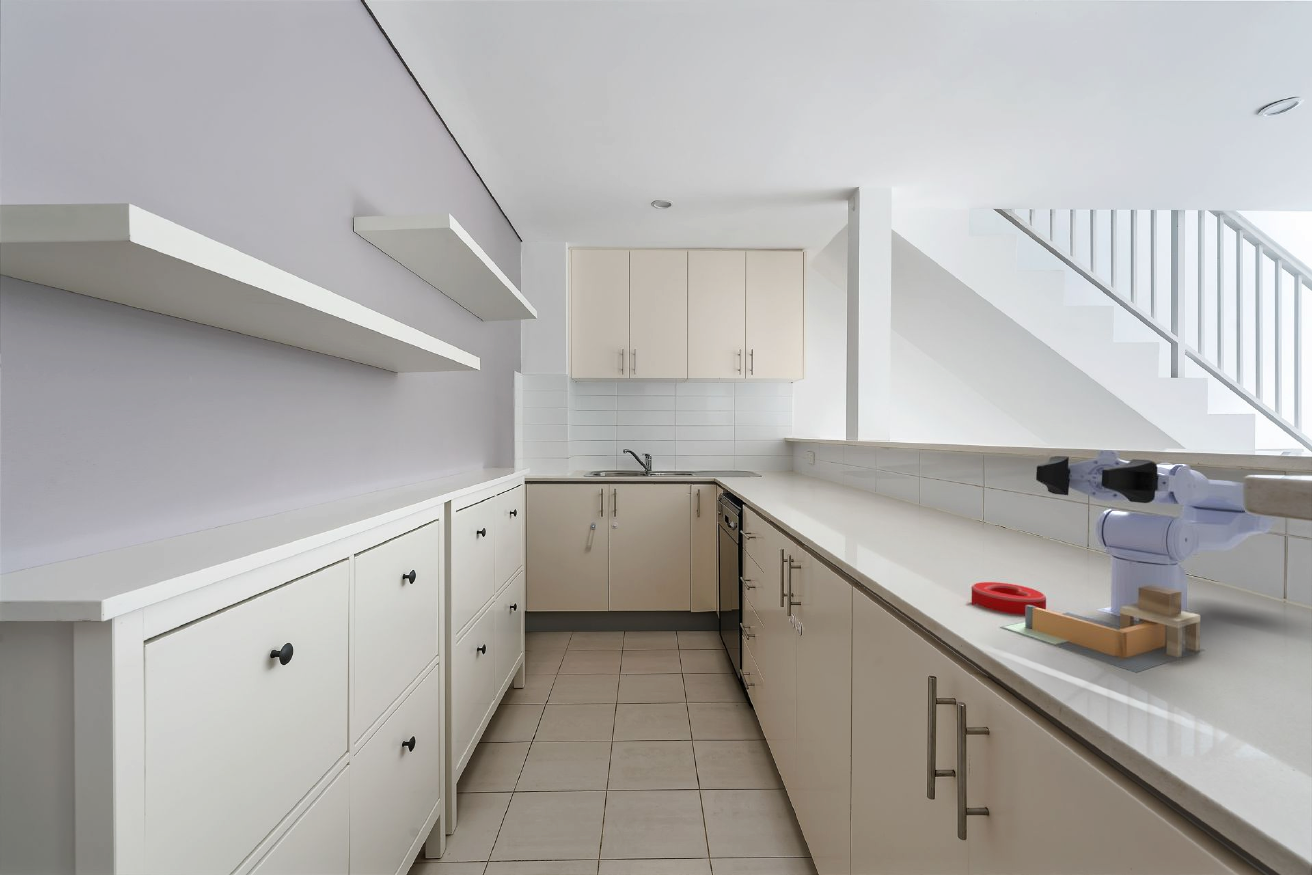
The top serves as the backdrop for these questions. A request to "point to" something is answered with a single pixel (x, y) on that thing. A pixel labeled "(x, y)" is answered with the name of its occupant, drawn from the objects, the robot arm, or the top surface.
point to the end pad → (1035, 634)
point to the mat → (1129, 663)
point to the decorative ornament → (1006, 597)
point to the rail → (1098, 633)
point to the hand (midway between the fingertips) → (1070, 475)
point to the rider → (1164, 617)
